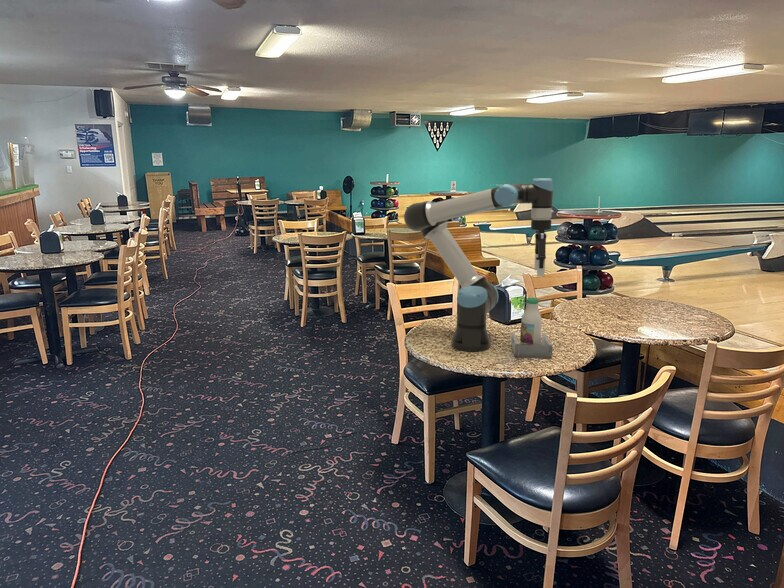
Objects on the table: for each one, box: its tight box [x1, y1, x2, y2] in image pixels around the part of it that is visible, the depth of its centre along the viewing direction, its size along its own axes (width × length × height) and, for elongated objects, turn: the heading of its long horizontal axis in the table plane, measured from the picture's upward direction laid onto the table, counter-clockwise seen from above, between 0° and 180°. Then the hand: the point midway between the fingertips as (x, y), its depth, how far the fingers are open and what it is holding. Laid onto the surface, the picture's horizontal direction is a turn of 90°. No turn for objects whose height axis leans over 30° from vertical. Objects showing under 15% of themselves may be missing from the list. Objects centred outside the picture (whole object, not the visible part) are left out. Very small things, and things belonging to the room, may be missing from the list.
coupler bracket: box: [510, 331, 554, 359], centre depth 204 cm, size 13×16×5 cm
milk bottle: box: [519, 297, 542, 344], centre depth 204 cm, size 8×8×20 cm
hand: (539, 273), depth 206 cm, fingers open, 13 cm apart
